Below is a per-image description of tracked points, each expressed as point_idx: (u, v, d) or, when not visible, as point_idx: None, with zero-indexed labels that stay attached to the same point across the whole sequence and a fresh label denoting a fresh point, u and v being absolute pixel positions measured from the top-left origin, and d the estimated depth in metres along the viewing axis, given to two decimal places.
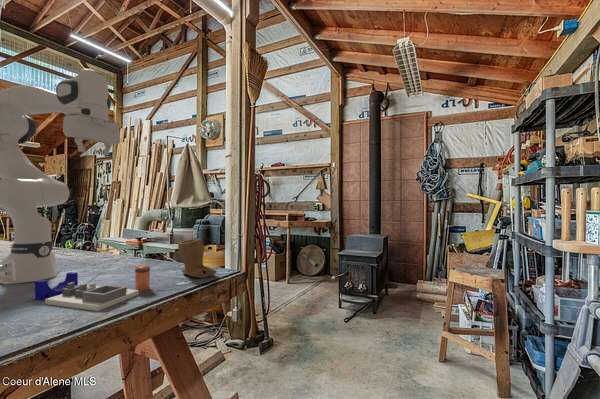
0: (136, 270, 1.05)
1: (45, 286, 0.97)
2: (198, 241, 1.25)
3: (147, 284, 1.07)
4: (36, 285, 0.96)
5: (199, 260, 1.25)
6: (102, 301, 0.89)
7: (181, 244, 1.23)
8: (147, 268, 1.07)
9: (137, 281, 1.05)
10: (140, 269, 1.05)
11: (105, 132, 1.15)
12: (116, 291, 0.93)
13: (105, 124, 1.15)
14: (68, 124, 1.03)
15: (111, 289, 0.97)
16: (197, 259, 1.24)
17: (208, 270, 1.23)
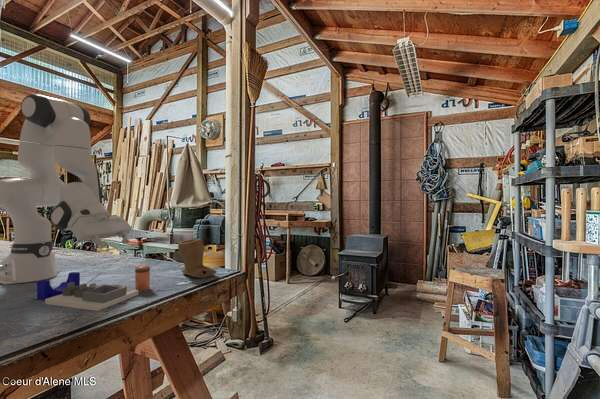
0: (136, 270, 1.05)
1: (47, 286, 0.97)
2: (198, 241, 1.25)
3: (147, 284, 1.07)
4: (38, 285, 0.96)
5: (199, 260, 1.25)
6: (102, 301, 0.89)
7: (181, 244, 1.23)
8: (147, 268, 1.07)
9: (137, 281, 1.05)
10: (140, 269, 1.05)
11: (113, 224, 1.14)
12: (116, 291, 0.93)
13: (109, 218, 1.15)
14: (77, 229, 1.02)
15: (111, 289, 0.97)
16: (197, 259, 1.24)
17: (208, 270, 1.23)
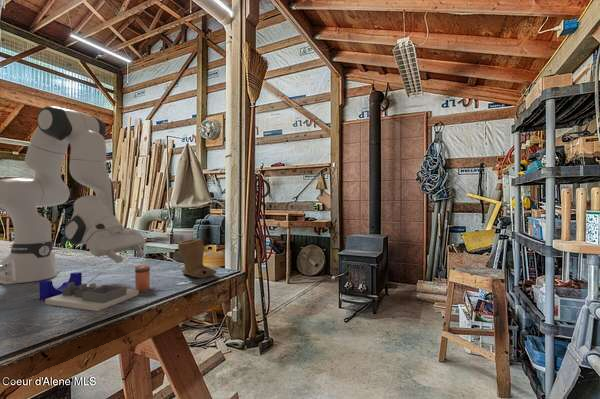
0: (136, 270, 1.05)
1: (50, 286, 0.97)
2: (198, 241, 1.25)
3: (147, 284, 1.07)
4: (41, 285, 0.96)
5: (199, 260, 1.25)
6: (102, 301, 0.89)
7: (181, 244, 1.23)
8: (147, 268, 1.07)
9: (137, 281, 1.05)
10: (140, 269, 1.05)
11: (128, 237, 1.13)
12: (116, 291, 0.93)
13: (123, 231, 1.13)
14: (93, 244, 1.01)
15: (111, 289, 0.97)
16: (197, 259, 1.24)
17: (208, 270, 1.23)
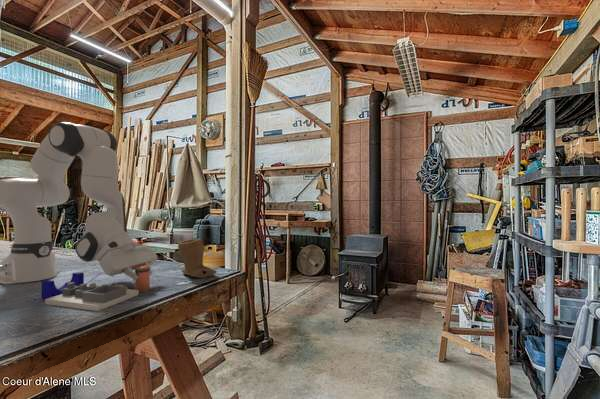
0: (136, 270, 1.05)
1: (52, 286, 0.97)
2: (198, 241, 1.25)
3: (147, 284, 1.07)
4: (43, 285, 0.96)
5: (199, 260, 1.25)
6: (102, 301, 0.89)
7: (181, 244, 1.23)
8: (147, 268, 1.07)
9: (137, 281, 1.05)
10: (140, 269, 1.05)
11: (140, 254, 1.11)
12: (116, 291, 0.93)
13: (135, 248, 1.12)
14: (106, 264, 0.99)
15: (111, 289, 0.97)
16: (197, 259, 1.24)
17: (208, 270, 1.23)
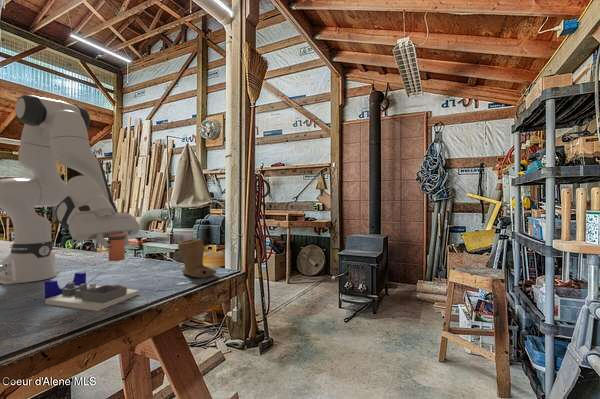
0: (108, 237, 0.96)
1: (55, 286, 0.97)
2: (198, 241, 1.25)
3: (120, 253, 0.96)
4: (46, 285, 0.96)
5: (199, 260, 1.25)
6: (102, 301, 0.89)
7: (181, 244, 1.23)
8: (120, 236, 0.96)
9: (109, 250, 0.95)
10: (112, 236, 0.95)
11: (118, 222, 1.02)
12: (116, 291, 0.93)
13: (114, 215, 1.03)
14: (73, 227, 0.91)
15: (111, 289, 0.97)
16: (197, 259, 1.24)
17: (208, 270, 1.23)
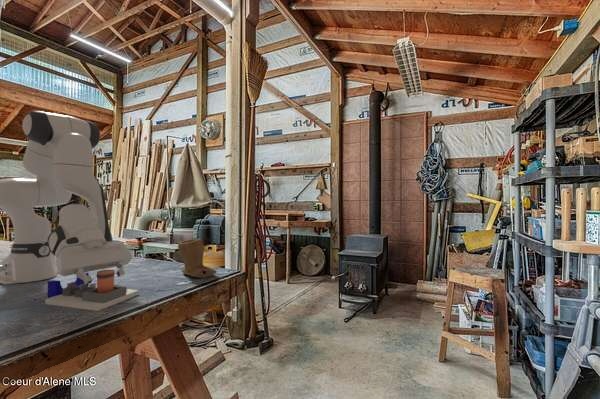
0: (97, 275, 0.93)
1: (58, 286, 0.97)
2: (198, 241, 1.25)
3: None
4: (49, 285, 0.96)
5: (199, 260, 1.25)
6: (102, 301, 0.89)
7: (181, 244, 1.23)
8: (109, 273, 0.93)
9: (98, 288, 0.92)
10: (100, 274, 0.92)
11: (108, 252, 0.99)
12: (116, 291, 0.93)
13: (105, 245, 1.00)
14: (59, 262, 0.88)
15: None
16: (197, 259, 1.24)
17: (208, 270, 1.23)
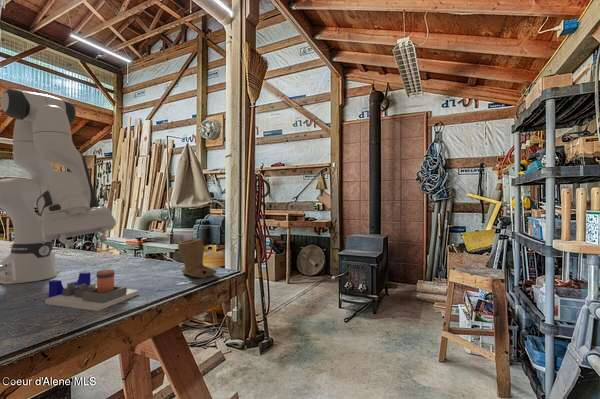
0: (97, 275, 0.93)
1: (59, 286, 0.97)
2: (198, 241, 1.25)
3: None
4: (50, 285, 0.97)
5: (199, 260, 1.25)
6: (102, 301, 0.89)
7: (181, 244, 1.23)
8: (109, 273, 0.93)
9: (98, 288, 0.92)
10: (100, 274, 0.92)
11: (91, 219, 1.04)
12: (116, 291, 0.93)
13: (88, 212, 1.05)
14: (42, 227, 0.95)
15: None
16: (197, 259, 1.24)
17: (208, 270, 1.23)
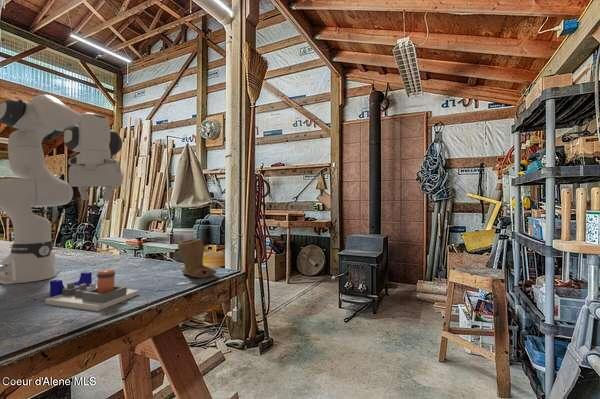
0: (97, 275, 0.93)
1: (60, 286, 0.97)
2: (198, 241, 1.25)
3: None
4: (51, 285, 0.97)
5: (199, 260, 1.25)
6: (102, 301, 0.89)
7: (181, 244, 1.23)
8: (109, 273, 0.93)
9: (98, 288, 0.92)
10: (101, 274, 0.92)
11: (98, 176, 1.05)
12: (116, 291, 0.93)
13: (98, 167, 1.05)
14: None
15: None
16: (197, 259, 1.24)
17: (208, 270, 1.23)
